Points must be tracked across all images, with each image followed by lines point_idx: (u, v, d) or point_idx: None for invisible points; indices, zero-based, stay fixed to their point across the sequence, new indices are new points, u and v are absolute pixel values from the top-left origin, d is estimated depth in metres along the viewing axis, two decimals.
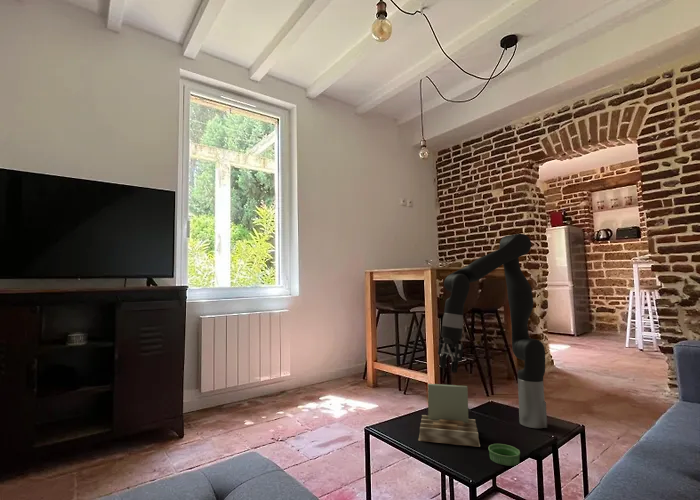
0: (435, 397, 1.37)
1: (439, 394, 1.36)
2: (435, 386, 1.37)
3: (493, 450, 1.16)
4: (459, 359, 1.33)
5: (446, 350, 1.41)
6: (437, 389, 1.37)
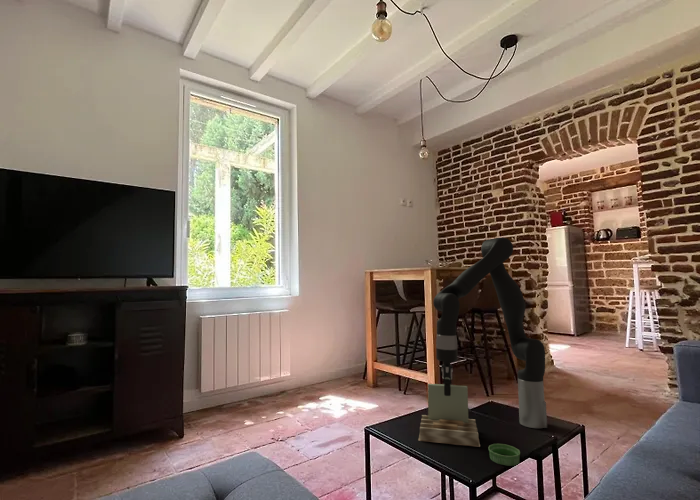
0: (435, 397, 1.37)
1: (439, 394, 1.36)
2: (435, 386, 1.37)
3: (493, 450, 1.16)
4: (447, 382, 1.30)
5: None
6: (437, 389, 1.37)
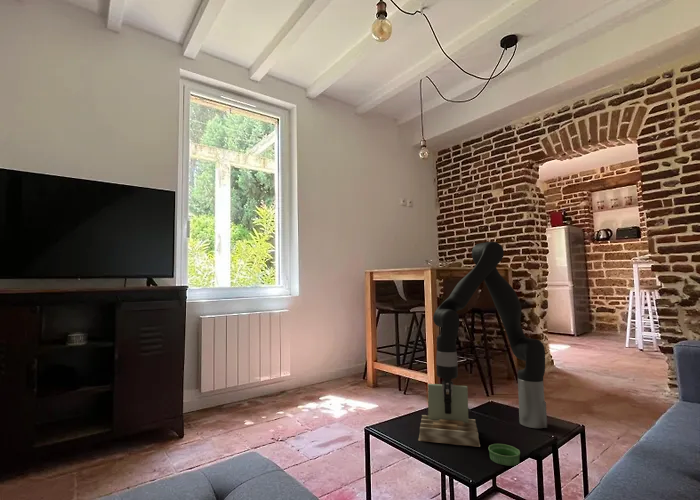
0: (435, 397, 1.37)
1: (439, 394, 1.36)
2: (435, 386, 1.37)
3: (493, 450, 1.16)
4: (448, 401, 1.33)
5: None
6: (437, 389, 1.37)
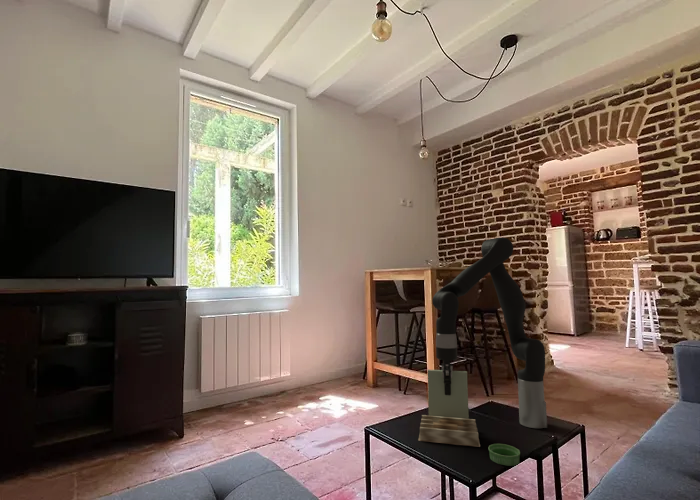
0: (434, 383, 1.37)
1: (439, 379, 1.37)
2: (435, 372, 1.38)
3: (493, 450, 1.16)
4: (447, 382, 1.33)
5: None
6: (437, 374, 1.37)
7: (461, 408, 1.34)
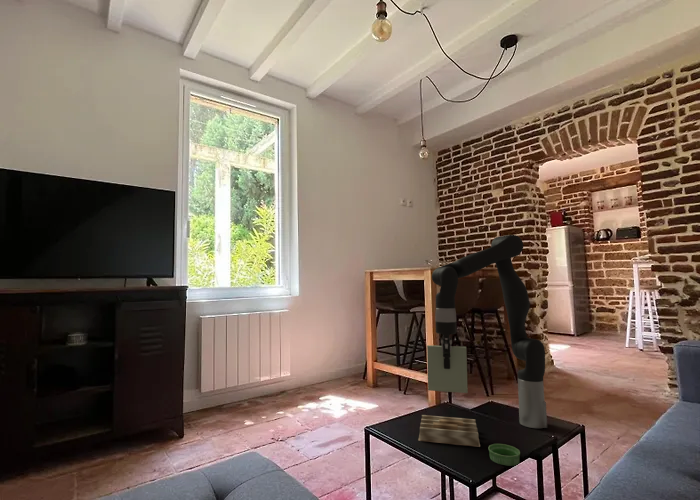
0: (434, 358, 1.38)
1: (438, 355, 1.38)
2: (434, 347, 1.38)
3: (493, 450, 1.16)
4: (447, 355, 1.34)
5: None
6: (436, 350, 1.38)
7: (460, 383, 1.35)
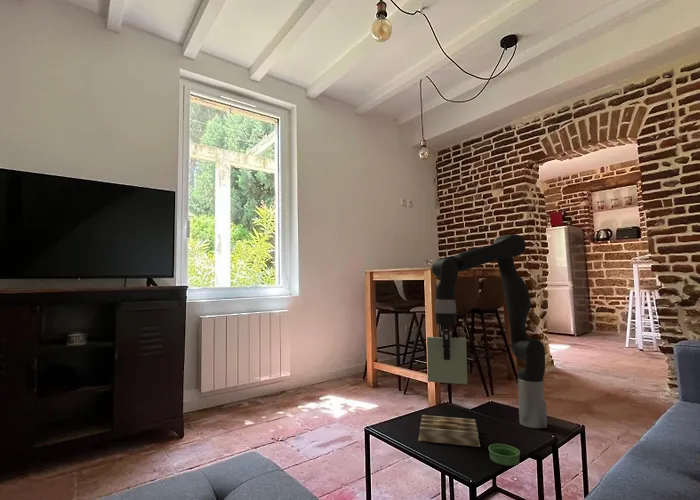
0: (434, 349, 1.38)
1: (438, 346, 1.38)
2: (434, 338, 1.39)
3: (493, 450, 1.16)
4: (447, 346, 1.35)
5: None
6: (436, 341, 1.38)
7: (460, 374, 1.35)
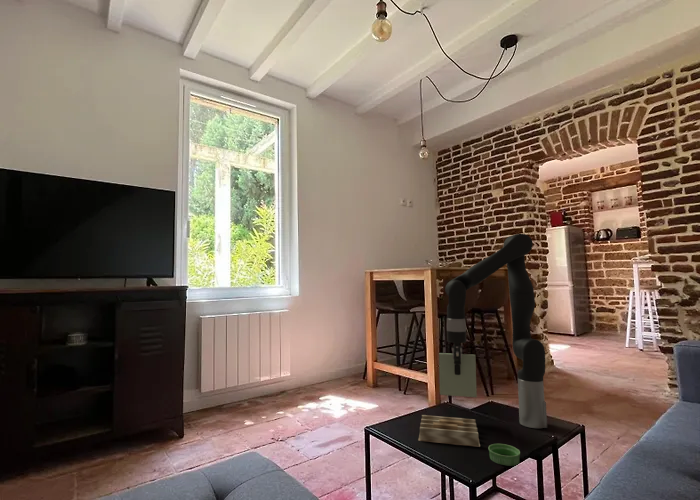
0: (445, 365, 1.50)
1: (449, 362, 1.49)
2: (446, 355, 1.50)
3: (493, 450, 1.16)
4: (457, 362, 1.46)
5: (454, 351, 1.50)
6: (448, 357, 1.50)
7: (470, 388, 1.47)
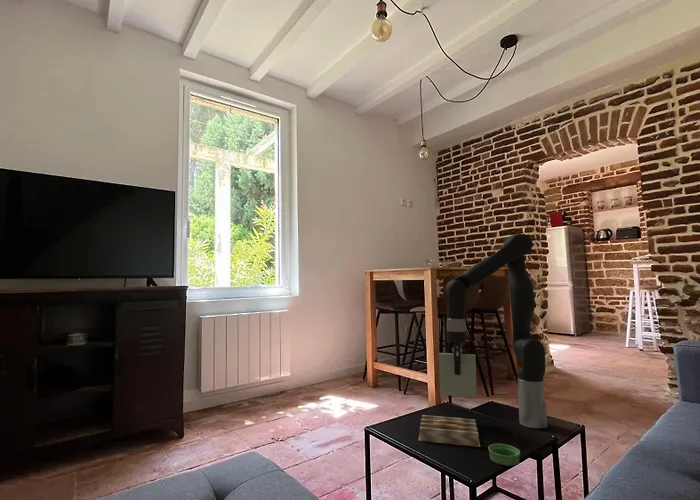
0: (445, 365, 1.50)
1: (449, 362, 1.49)
2: (446, 355, 1.50)
3: (493, 450, 1.16)
4: (457, 362, 1.46)
5: (454, 351, 1.50)
6: (448, 357, 1.50)
7: (470, 388, 1.47)
